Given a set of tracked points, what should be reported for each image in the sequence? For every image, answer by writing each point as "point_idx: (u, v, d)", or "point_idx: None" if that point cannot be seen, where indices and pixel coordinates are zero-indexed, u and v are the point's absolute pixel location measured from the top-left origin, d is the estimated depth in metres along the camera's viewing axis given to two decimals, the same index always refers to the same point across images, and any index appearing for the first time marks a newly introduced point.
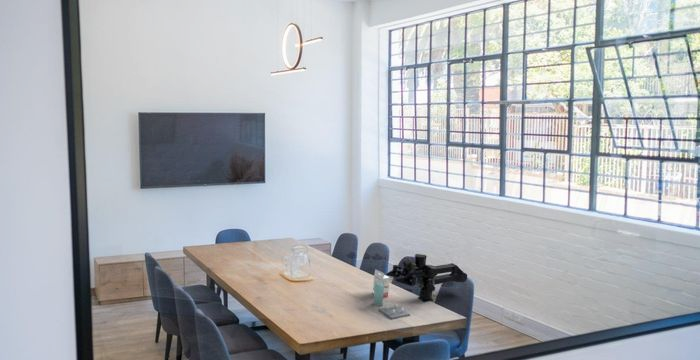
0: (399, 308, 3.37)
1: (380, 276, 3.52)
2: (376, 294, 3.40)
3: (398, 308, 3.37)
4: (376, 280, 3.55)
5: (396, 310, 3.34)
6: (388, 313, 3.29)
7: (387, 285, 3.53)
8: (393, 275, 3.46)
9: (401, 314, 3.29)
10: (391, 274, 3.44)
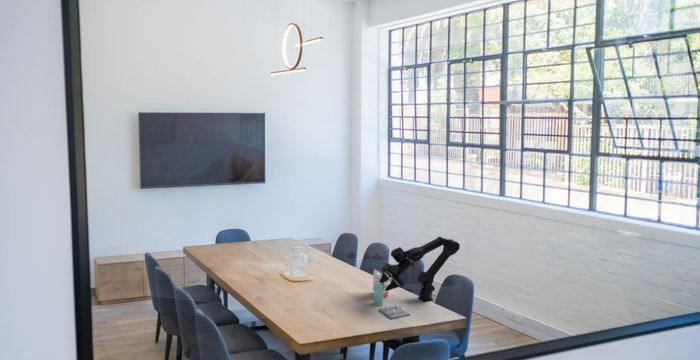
0: (399, 308, 3.37)
1: (379, 276, 3.51)
2: (376, 294, 3.40)
3: (398, 308, 3.37)
4: (376, 280, 3.54)
5: (396, 310, 3.34)
6: (388, 313, 3.29)
7: (386, 285, 3.52)
8: (385, 280, 3.47)
9: (401, 314, 3.29)
10: (382, 281, 3.46)
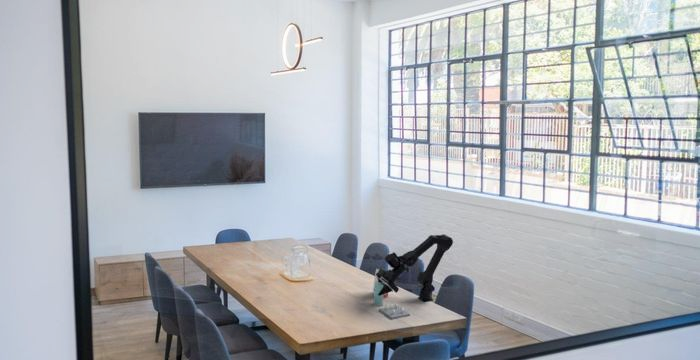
0: (399, 308, 3.37)
1: None
2: (376, 294, 3.40)
3: (398, 308, 3.37)
4: (377, 280, 3.55)
5: (396, 310, 3.34)
6: (388, 313, 3.29)
7: None
8: None
9: (401, 314, 3.29)
10: None
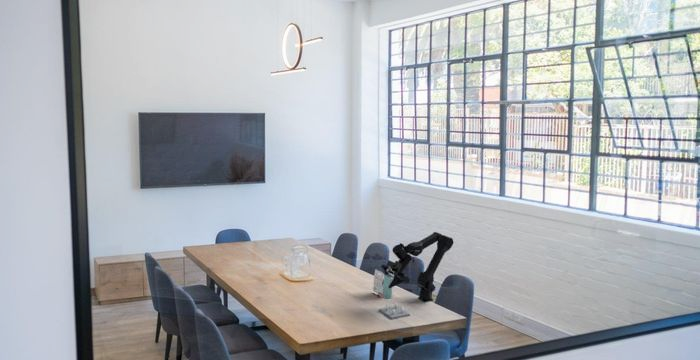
0: (399, 308, 3.37)
1: (380, 276, 3.52)
2: (386, 287, 3.32)
3: (398, 308, 3.37)
4: (376, 280, 3.55)
5: (396, 310, 3.34)
6: (388, 313, 3.29)
7: None
8: None
9: (401, 314, 3.29)
10: None
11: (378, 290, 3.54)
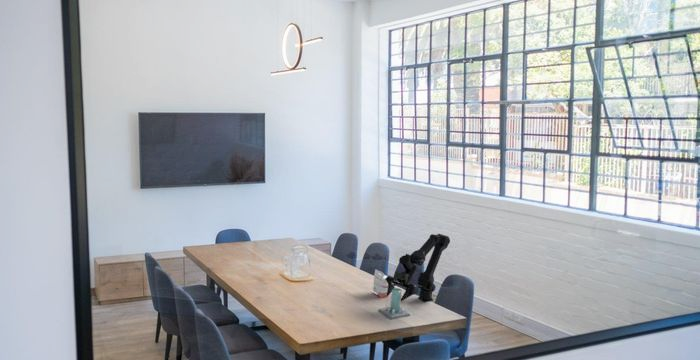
0: None
1: (380, 276, 3.52)
2: (395, 301, 3.29)
3: None
4: (376, 280, 3.55)
5: None
6: (388, 313, 3.29)
7: (387, 285, 3.53)
8: None
9: (401, 314, 3.29)
10: (390, 290, 3.35)
11: (378, 290, 3.54)
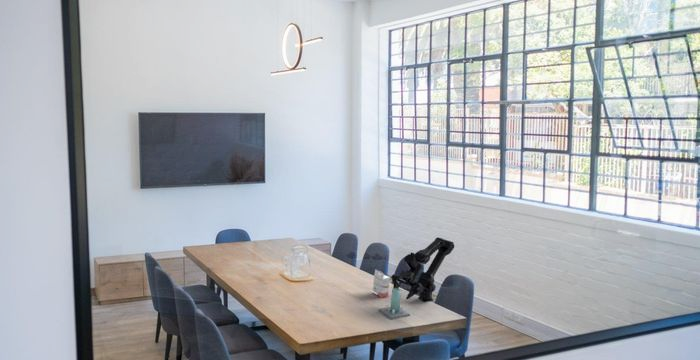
0: None
1: (380, 276, 3.52)
2: (395, 301, 3.29)
3: None
4: (376, 280, 3.55)
5: None
6: (388, 313, 3.29)
7: (387, 285, 3.53)
8: (397, 287, 3.40)
9: (401, 314, 3.29)
10: None
11: (378, 290, 3.54)
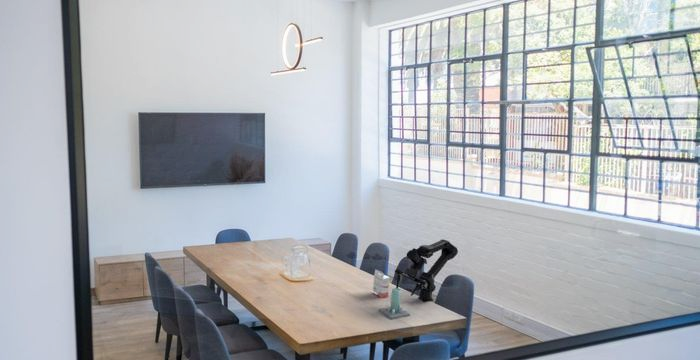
0: None
1: (380, 276, 3.52)
2: (395, 301, 3.29)
3: None
4: (376, 280, 3.55)
5: None
6: (388, 313, 3.29)
7: (387, 285, 3.53)
8: (400, 281, 3.43)
9: (401, 314, 3.29)
10: (399, 283, 3.42)
11: (378, 290, 3.54)
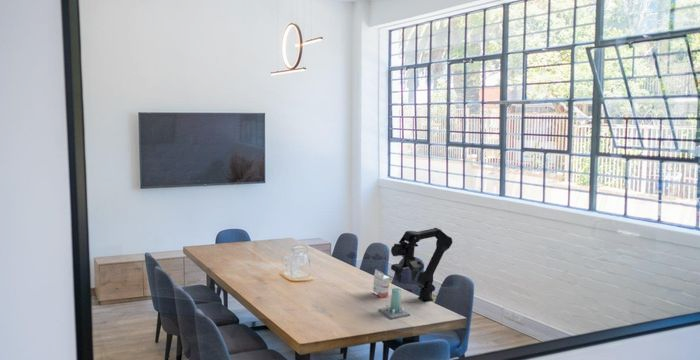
0: None
1: (380, 276, 3.52)
2: (395, 301, 3.29)
3: None
4: (376, 280, 3.55)
5: None
6: (388, 313, 3.29)
7: (387, 285, 3.53)
8: None
9: (401, 314, 3.29)
10: None
11: (378, 290, 3.54)
